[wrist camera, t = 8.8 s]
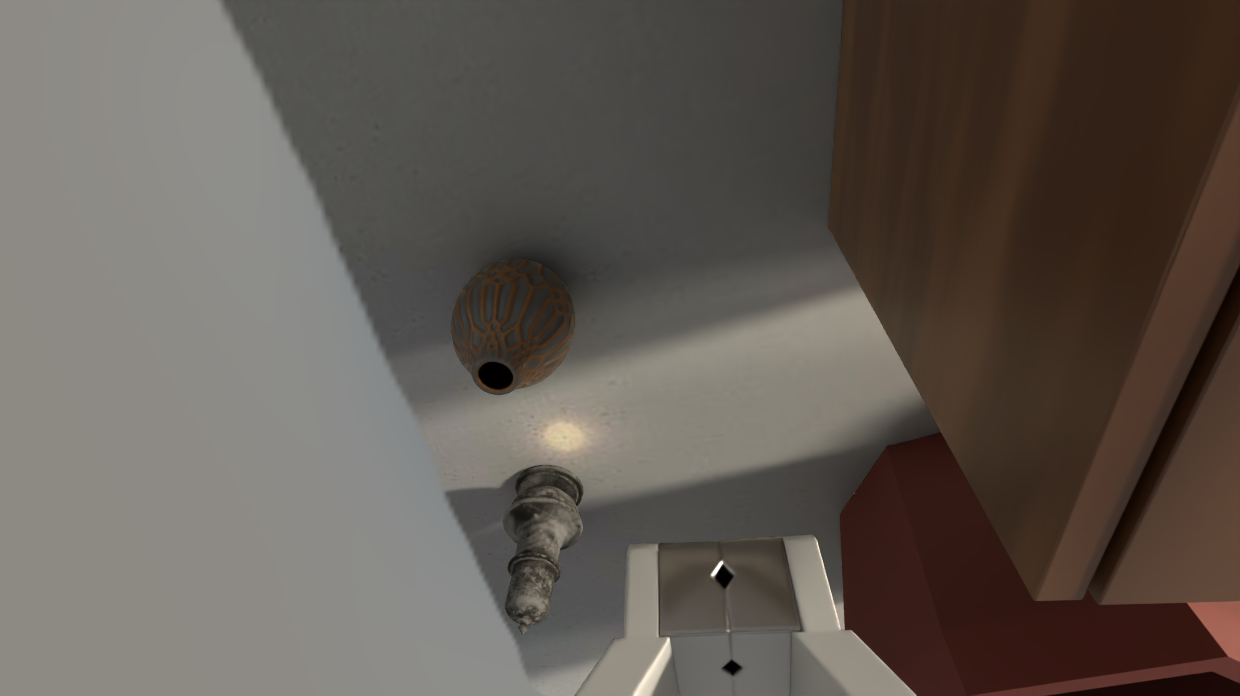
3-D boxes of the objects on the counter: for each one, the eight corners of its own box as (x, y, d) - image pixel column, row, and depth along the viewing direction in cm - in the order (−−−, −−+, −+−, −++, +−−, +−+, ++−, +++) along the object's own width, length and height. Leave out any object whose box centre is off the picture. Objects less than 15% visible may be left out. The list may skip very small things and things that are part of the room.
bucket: (768, 579, 54) (835, 989, 33) (823, 371, 41) (986, 819, 21) (1059, 598, 53) (1312, 1027, 33) (1204, 392, 41) (1762, 877, 20)
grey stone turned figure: (573, 523, 51) (553, 668, 41) (503, 503, 50) (465, 646, 40) (597, 475, 48) (581, 620, 38) (523, 453, 47) (487, 595, 37)
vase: (585, 338, 41) (569, 428, 34) (480, 340, 41) (443, 429, 34) (575, 240, 37) (554, 318, 30) (460, 243, 38) (412, 320, 30)
